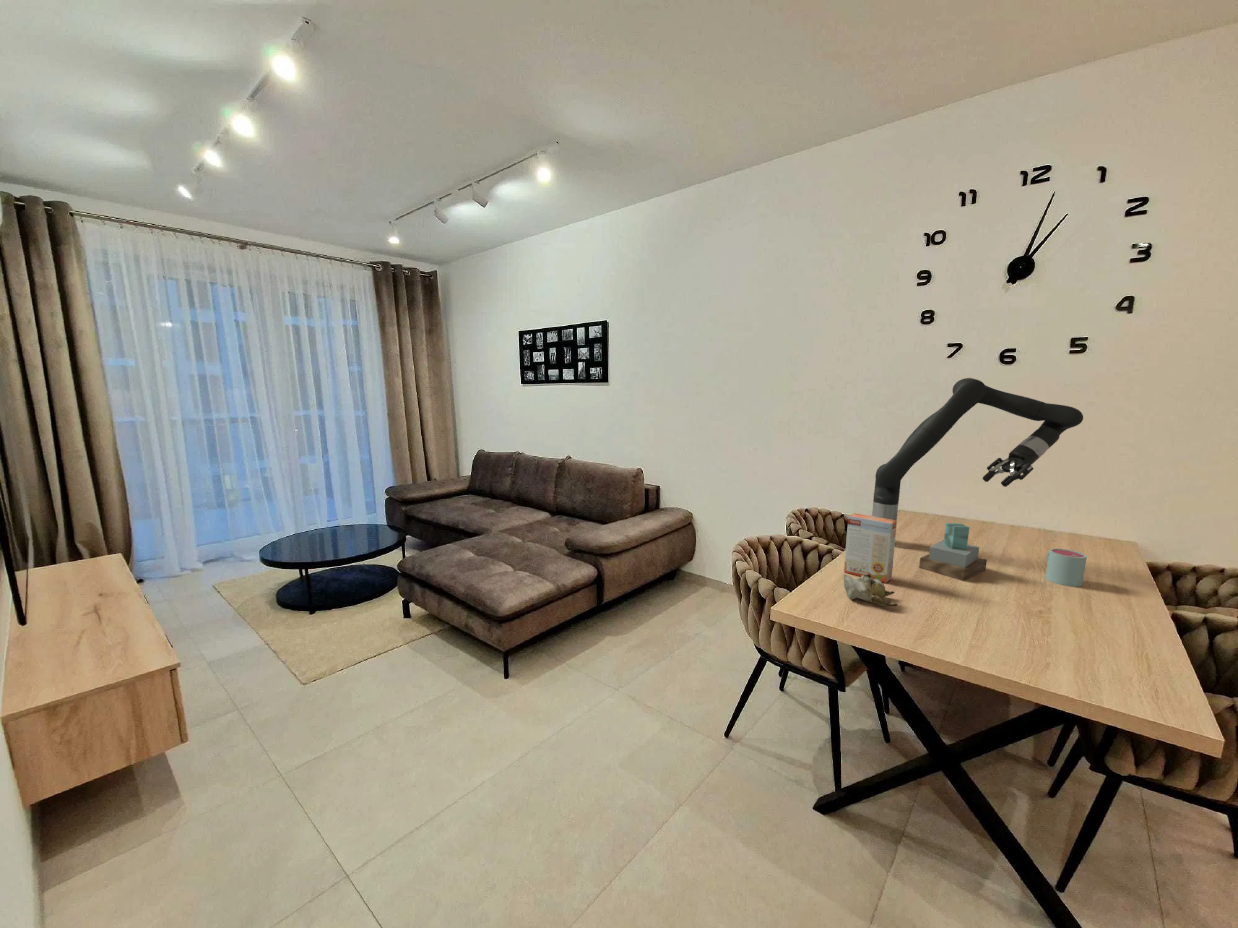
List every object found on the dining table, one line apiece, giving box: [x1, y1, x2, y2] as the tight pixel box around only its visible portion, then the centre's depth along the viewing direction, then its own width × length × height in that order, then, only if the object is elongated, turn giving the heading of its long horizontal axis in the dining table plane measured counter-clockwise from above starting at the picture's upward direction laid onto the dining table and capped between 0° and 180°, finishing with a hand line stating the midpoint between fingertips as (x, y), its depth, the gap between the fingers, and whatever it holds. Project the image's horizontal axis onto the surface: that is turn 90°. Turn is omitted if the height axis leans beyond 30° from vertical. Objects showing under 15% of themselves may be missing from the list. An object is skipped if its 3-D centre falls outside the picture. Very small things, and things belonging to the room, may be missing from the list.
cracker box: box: [843, 512, 898, 584], centre depth 167 cm, size 14×6×21 cm, turn 45°
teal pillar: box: [943, 522, 970, 549], centre depth 173 cm, size 5×5×8 cm
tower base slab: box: [919, 554, 988, 582], centre depth 175 cm, size 14×18×4 cm
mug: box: [1045, 548, 1088, 588], centre depth 166 cm, size 14×9×10 cm
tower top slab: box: [928, 539, 980, 568], centre depth 174 cm, size 11×14×4 cm
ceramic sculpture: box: [843, 574, 899, 607], centre depth 149 cm, size 11×9×15 cm
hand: (993, 482), depth 176 cm, fingers open, 8 cm apart
